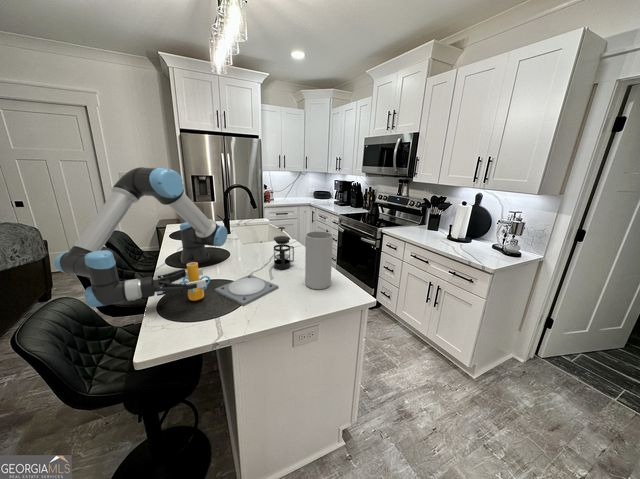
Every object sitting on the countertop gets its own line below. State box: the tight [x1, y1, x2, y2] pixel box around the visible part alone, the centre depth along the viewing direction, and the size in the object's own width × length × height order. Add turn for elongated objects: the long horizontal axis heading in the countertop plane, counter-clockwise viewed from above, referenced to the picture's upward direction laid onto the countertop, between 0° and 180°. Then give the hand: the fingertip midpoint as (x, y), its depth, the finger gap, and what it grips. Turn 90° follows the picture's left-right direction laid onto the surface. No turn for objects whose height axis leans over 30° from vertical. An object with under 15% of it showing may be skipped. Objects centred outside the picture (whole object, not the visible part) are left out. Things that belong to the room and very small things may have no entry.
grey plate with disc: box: [214, 274, 279, 307], centre depth 117 cm, size 20×20×2 cm
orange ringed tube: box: [178, 262, 211, 301], centre depth 105 cm, size 12×10×15 cm
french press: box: [273, 226, 295, 271], centre depth 141 cm, size 12×9×23 cm
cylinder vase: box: [304, 230, 334, 290], centre depth 121 cm, size 12×12×25 cm
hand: (204, 277), depth 106 cm, fingers closed on orange ringed tube, 11 cm apart
